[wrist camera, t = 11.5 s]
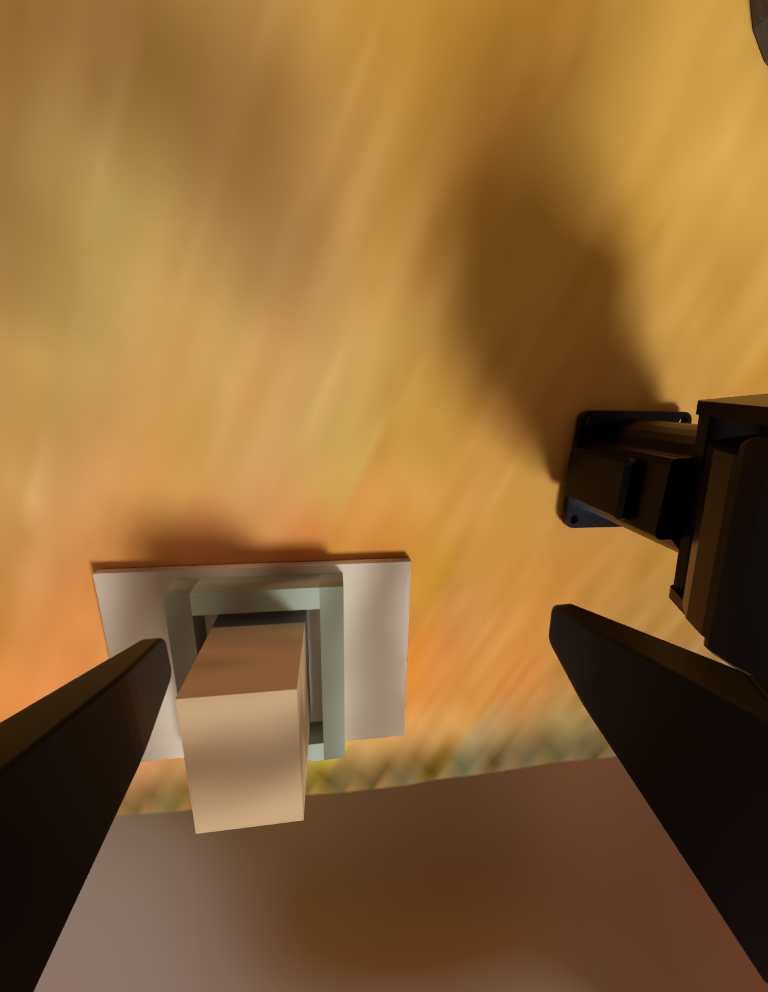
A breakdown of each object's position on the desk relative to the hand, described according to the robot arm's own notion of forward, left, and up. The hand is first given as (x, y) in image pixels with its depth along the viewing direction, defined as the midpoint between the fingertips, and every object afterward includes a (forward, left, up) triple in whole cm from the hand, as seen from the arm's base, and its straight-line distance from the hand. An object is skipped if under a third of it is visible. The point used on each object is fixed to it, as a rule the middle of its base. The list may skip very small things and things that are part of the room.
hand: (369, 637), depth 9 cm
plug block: (+5, +9, -11) cm, 15 cm away
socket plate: (+5, +9, -12) cm, 16 cm away
